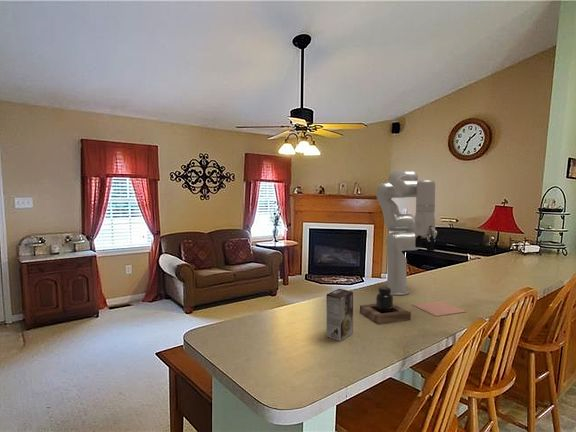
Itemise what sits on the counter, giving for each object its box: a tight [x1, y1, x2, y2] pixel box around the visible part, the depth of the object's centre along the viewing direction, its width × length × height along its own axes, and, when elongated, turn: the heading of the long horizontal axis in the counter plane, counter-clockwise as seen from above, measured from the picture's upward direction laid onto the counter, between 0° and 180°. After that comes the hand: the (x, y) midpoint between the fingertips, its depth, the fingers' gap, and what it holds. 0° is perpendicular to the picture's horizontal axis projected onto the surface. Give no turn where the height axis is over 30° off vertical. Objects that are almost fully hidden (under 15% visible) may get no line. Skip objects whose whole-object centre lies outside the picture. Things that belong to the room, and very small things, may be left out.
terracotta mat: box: [411, 300, 467, 317], centre depth 158 cm, size 16×16×1 cm
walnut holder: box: [359, 303, 412, 325], centre depth 149 cm, size 15×15×3 cm
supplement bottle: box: [375, 286, 394, 314], centre depth 149 cm, size 7×7×12 cm
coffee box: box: [326, 288, 354, 342], centre depth 129 cm, size 9×6×16 cm
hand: (424, 249), depth 151 cm, fingers open, 9 cm apart
